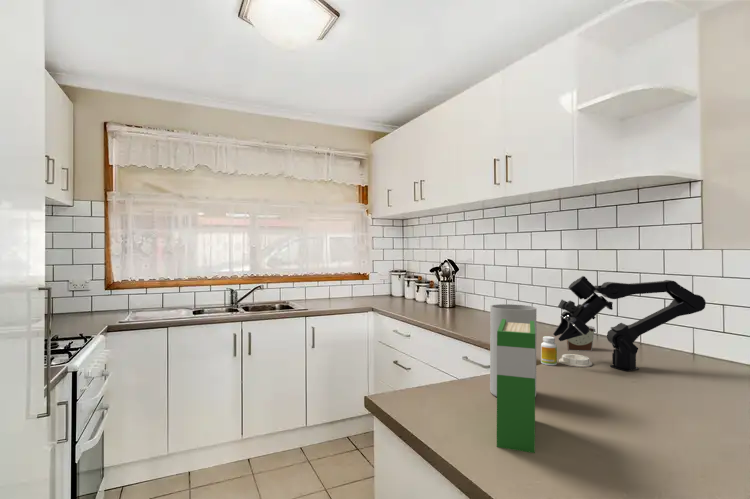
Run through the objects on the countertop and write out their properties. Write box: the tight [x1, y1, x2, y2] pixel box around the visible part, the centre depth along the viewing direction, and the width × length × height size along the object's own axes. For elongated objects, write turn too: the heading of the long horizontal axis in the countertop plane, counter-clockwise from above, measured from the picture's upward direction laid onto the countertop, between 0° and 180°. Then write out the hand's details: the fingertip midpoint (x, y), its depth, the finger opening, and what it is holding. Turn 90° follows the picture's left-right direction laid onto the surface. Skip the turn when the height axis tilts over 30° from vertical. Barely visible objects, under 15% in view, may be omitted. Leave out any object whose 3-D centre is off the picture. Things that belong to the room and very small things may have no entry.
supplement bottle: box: [540, 335, 558, 366], centre depth 152 cm, size 5×5×10 cm
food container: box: [566, 325, 597, 352], centre depth 176 cm, size 12×6×10 cm, turn 84°
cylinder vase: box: [489, 303, 537, 398], centre depth 118 cm, size 12×12×25 cm
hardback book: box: [496, 319, 536, 454], centre depth 93 cm, size 18×7×24 cm, turn 160°
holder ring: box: [558, 353, 593, 368], centre depth 153 cm, size 11×11×2 cm
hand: (556, 337), depth 151 cm, fingers open, 9 cm apart
